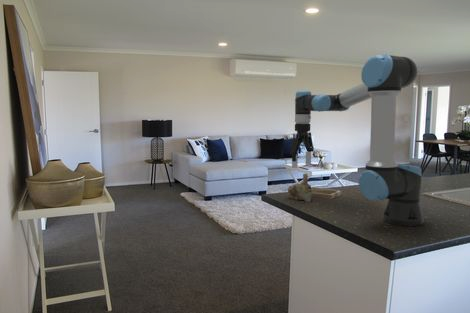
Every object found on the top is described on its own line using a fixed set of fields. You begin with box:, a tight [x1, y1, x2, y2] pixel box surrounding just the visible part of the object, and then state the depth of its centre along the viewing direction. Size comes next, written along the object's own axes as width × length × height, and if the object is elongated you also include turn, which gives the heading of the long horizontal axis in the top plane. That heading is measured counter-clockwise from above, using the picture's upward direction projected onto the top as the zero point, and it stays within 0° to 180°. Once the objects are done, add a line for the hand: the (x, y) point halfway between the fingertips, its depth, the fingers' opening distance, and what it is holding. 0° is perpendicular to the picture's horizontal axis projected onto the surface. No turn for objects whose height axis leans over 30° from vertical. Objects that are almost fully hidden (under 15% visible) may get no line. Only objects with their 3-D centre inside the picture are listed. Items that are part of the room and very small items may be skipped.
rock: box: [287, 181, 314, 203], centre depth 189 cm, size 12×7×10 cm, turn 46°
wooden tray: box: [302, 173, 343, 200], centre depth 198 cm, size 13×17×11 cm
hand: (301, 166), depth 187 cm, fingers open, 13 cm apart
